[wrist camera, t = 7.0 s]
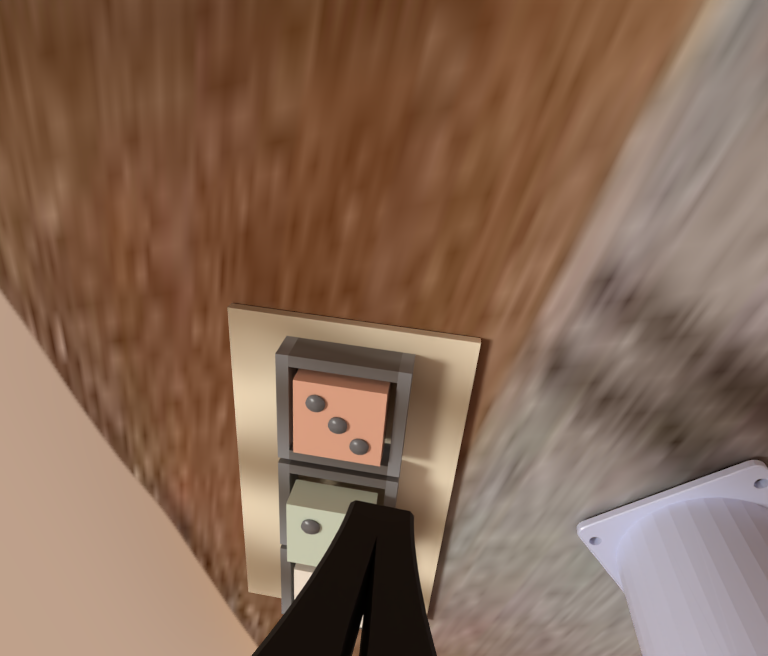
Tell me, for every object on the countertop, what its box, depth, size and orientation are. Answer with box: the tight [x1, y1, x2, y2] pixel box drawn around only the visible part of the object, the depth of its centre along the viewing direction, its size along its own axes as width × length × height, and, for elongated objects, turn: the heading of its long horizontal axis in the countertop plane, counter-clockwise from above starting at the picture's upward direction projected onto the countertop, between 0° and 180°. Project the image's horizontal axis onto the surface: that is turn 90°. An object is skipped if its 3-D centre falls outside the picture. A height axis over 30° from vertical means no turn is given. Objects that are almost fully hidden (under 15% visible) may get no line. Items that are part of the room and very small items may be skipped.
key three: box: [293, 368, 391, 466], centre depth 21 cm, size 4×4×2 cm
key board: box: [227, 303, 481, 629], centre depth 24 cm, size 18×10×2 cm, turn 175°
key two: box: [286, 479, 378, 567], centre depth 23 cm, size 4×4×2 cm
